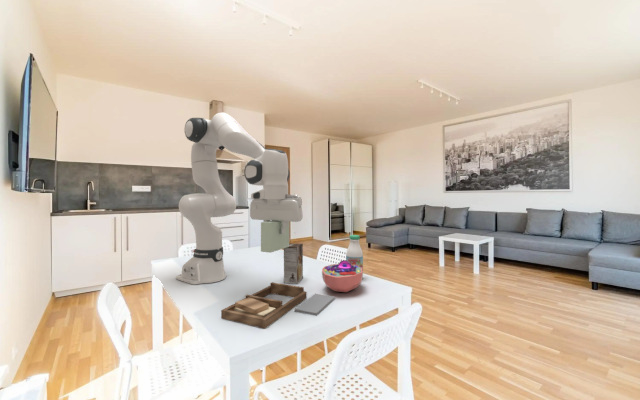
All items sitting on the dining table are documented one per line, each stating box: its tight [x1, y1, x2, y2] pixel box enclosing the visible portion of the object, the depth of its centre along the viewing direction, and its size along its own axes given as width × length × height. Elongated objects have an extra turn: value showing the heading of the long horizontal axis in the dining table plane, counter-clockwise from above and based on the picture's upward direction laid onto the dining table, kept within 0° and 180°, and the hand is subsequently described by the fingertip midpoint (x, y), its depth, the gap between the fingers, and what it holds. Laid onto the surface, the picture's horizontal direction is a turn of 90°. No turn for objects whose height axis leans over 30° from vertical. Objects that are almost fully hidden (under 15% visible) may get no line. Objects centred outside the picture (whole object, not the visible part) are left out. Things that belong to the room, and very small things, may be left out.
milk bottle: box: [345, 234, 364, 280], centre depth 130 cm, size 8×8×20 cm
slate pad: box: [294, 293, 336, 317], centre depth 99 cm, size 8×16×1 cm, turn 156°
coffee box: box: [283, 242, 304, 285], centre depth 127 cm, size 9×6×16 cm
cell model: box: [321, 259, 364, 293], centre depth 115 cm, size 17×20×11 cm
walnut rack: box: [220, 282, 308, 329], centre depth 97 cm, size 16×26×4 cm, turn 156°
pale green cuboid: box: [260, 220, 290, 253], centre depth 101 cm, size 4×12×10 cm, turn 156°
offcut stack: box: [234, 297, 276, 318], centre depth 90 cm, size 13×7×4 cm, turn 59°
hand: (275, 233), depth 101 cm, fingers closed on pale green cuboid, 4 cm apart
